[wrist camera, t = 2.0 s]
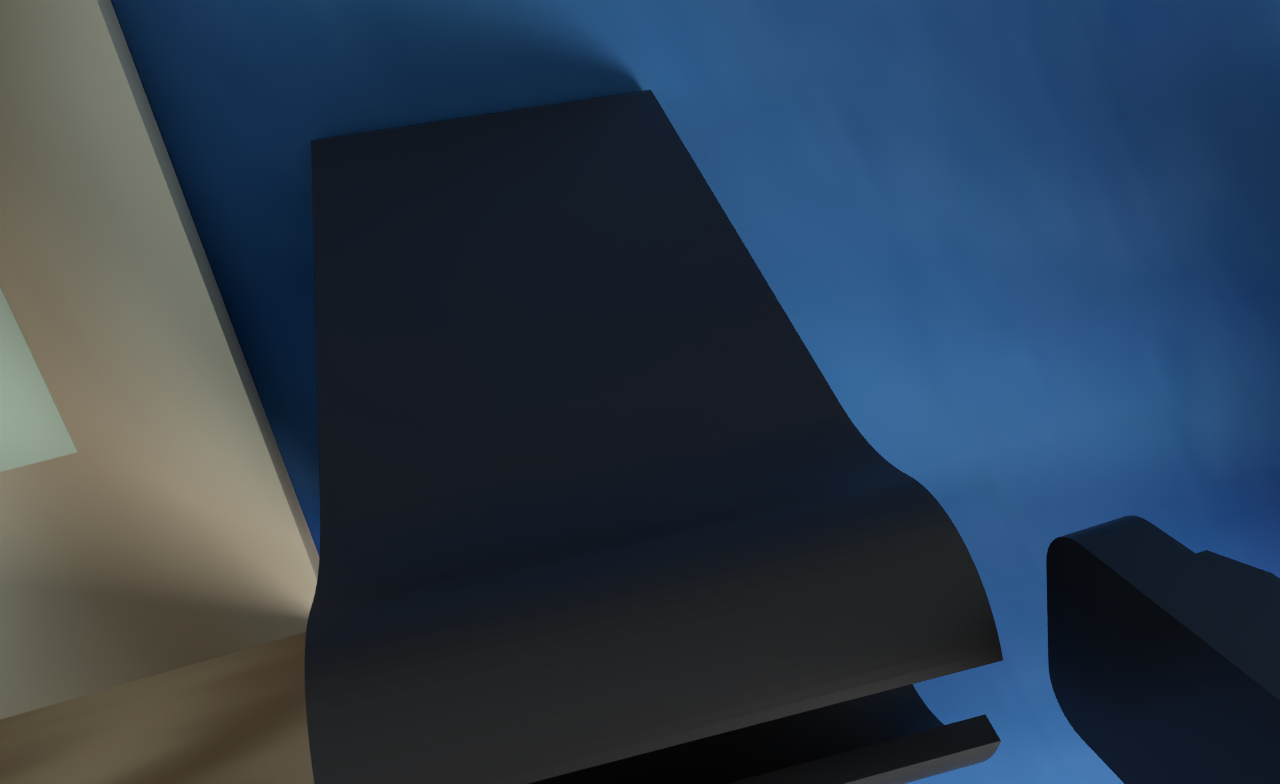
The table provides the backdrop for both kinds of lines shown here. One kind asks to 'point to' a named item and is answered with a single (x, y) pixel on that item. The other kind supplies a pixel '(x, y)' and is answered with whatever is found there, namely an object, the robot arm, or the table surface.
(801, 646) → the phone stand
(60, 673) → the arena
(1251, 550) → the table surface
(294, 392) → the table surface
